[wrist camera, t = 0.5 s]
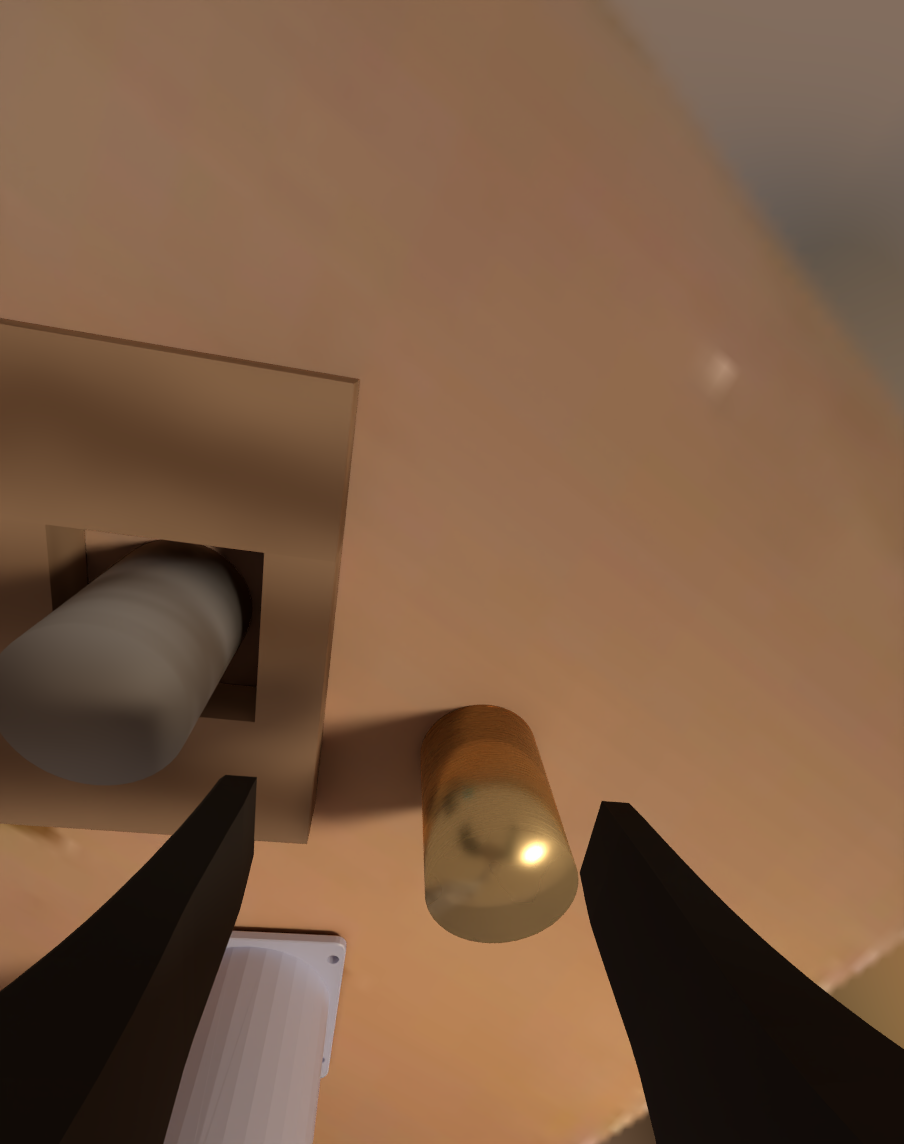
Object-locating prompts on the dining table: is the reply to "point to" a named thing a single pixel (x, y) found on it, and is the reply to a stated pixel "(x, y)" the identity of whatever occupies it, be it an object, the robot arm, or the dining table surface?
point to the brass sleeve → (491, 829)
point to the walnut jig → (163, 579)
